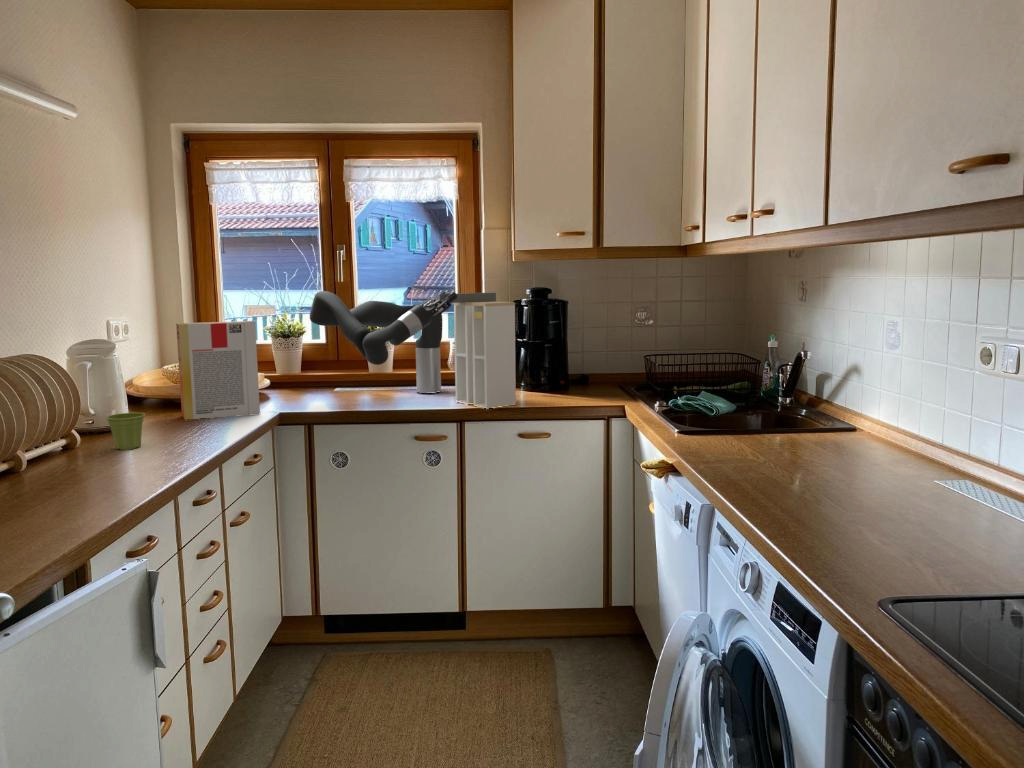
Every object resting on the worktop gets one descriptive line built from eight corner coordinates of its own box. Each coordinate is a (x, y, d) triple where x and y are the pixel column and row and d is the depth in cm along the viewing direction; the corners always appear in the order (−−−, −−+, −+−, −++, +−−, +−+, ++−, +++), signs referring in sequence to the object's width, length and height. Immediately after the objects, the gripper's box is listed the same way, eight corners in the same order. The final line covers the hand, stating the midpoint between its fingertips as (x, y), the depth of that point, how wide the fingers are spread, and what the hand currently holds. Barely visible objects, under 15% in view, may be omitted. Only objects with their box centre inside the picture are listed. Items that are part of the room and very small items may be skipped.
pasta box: (255, 410, 276) (250, 320, 272) (259, 414, 269) (255, 322, 265) (182, 416, 266) (176, 323, 262) (184, 420, 259) (178, 324, 255)
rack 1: (483, 399, 297) (482, 301, 292) (496, 401, 290) (495, 301, 286) (455, 402, 290) (453, 302, 285) (468, 405, 283) (466, 302, 279)
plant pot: (107, 453, 212) (104, 419, 211) (109, 446, 221) (106, 414, 219) (147, 449, 216) (145, 416, 215) (147, 443, 224) (145, 411, 223)
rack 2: (501, 402, 288) (500, 301, 283) (515, 405, 282) (514, 302, 277) (472, 406, 281) (470, 302, 276) (486, 409, 274) (484, 303, 270)
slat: (491, 301, 291) (490, 292, 291) (496, 301, 289) (495, 292, 289) (435, 303, 278) (435, 294, 277) (440, 303, 275) (439, 294, 275)
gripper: (419, 312, 264) (457, 284, 272) (397, 310, 276) (434, 284, 283) (430, 331, 268) (467, 304, 275) (407, 329, 279) (444, 303, 286)
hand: (450, 294), depth 279 cm, fingers open, 5 cm apart
